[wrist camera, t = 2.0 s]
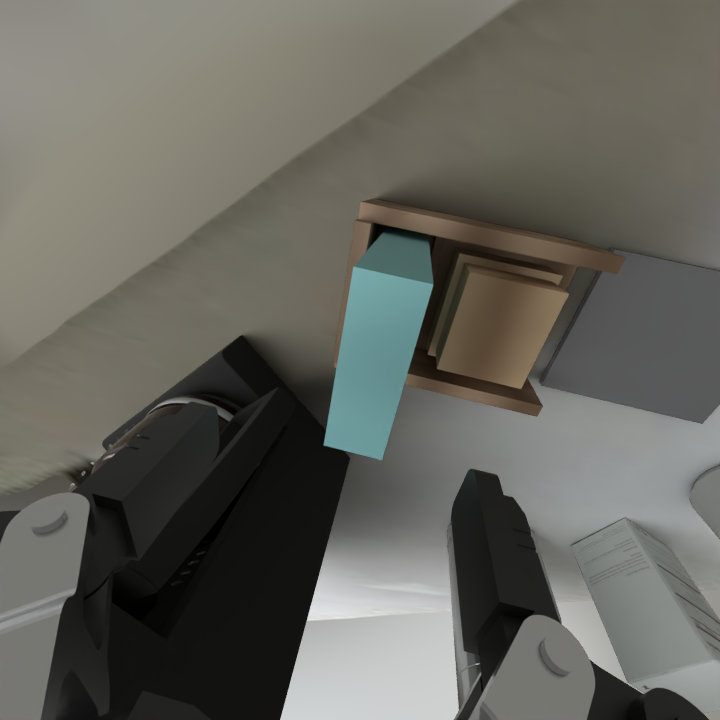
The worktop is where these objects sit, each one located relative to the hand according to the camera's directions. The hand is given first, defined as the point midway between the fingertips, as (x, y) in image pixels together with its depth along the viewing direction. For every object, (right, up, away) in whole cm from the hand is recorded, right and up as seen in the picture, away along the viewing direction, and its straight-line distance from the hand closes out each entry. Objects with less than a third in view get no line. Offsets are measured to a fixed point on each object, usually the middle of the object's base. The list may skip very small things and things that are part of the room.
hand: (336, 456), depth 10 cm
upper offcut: (+10, +6, +14) cm, 18 cm away
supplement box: (+31, -18, +28) cm, 45 cm away
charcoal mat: (+25, +5, +16) cm, 30 cm away
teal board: (+4, +9, +17) cm, 20 cm away
